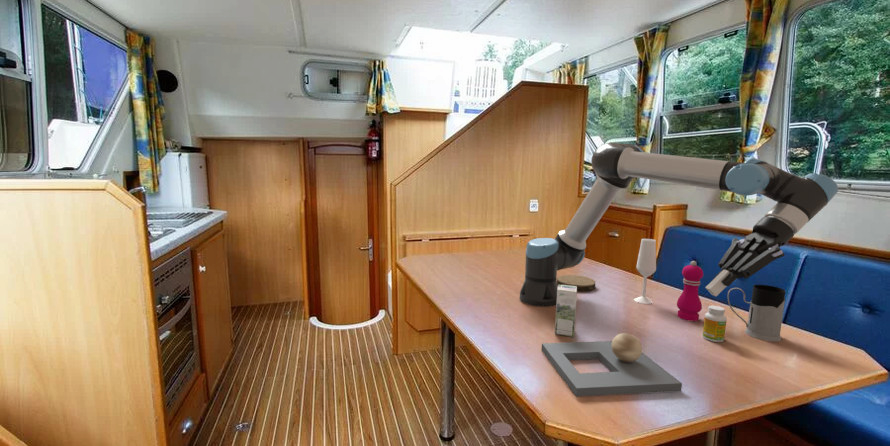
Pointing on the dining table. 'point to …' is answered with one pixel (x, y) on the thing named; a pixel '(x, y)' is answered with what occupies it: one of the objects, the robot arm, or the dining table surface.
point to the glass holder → (764, 312)
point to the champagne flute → (646, 265)
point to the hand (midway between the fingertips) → (710, 292)
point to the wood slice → (577, 282)
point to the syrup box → (565, 310)
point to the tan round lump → (626, 347)
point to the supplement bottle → (714, 324)
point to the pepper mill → (690, 293)
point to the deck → (618, 381)
